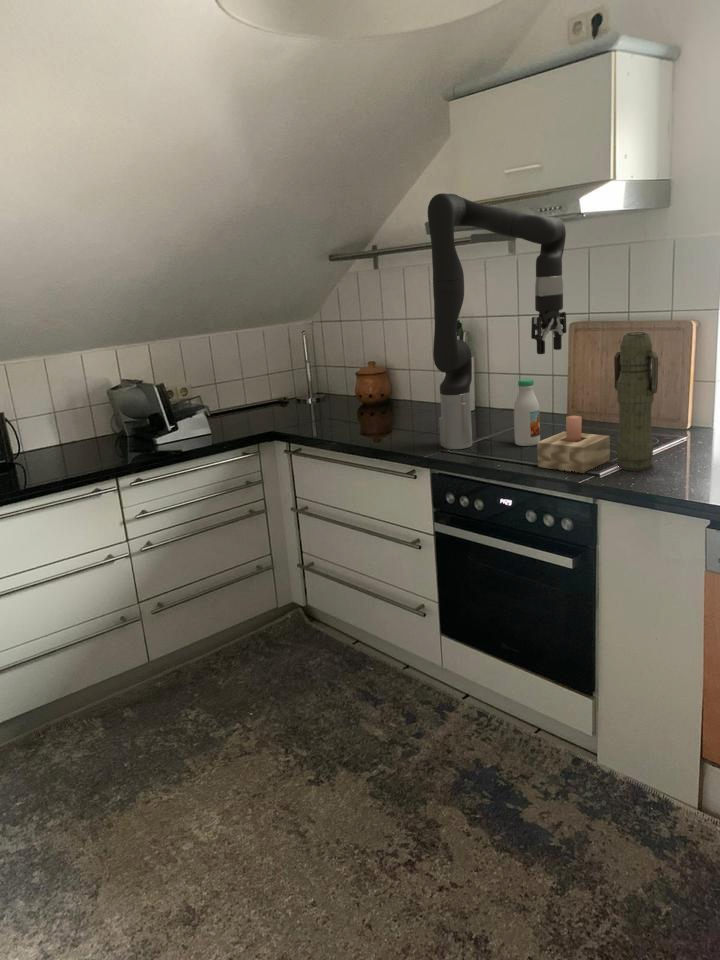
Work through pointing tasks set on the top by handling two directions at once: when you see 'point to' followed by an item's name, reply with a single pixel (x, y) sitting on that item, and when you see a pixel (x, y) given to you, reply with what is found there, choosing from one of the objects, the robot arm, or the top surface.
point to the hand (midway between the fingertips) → (549, 351)
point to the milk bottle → (526, 415)
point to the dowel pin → (573, 428)
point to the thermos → (635, 400)
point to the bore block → (573, 452)
